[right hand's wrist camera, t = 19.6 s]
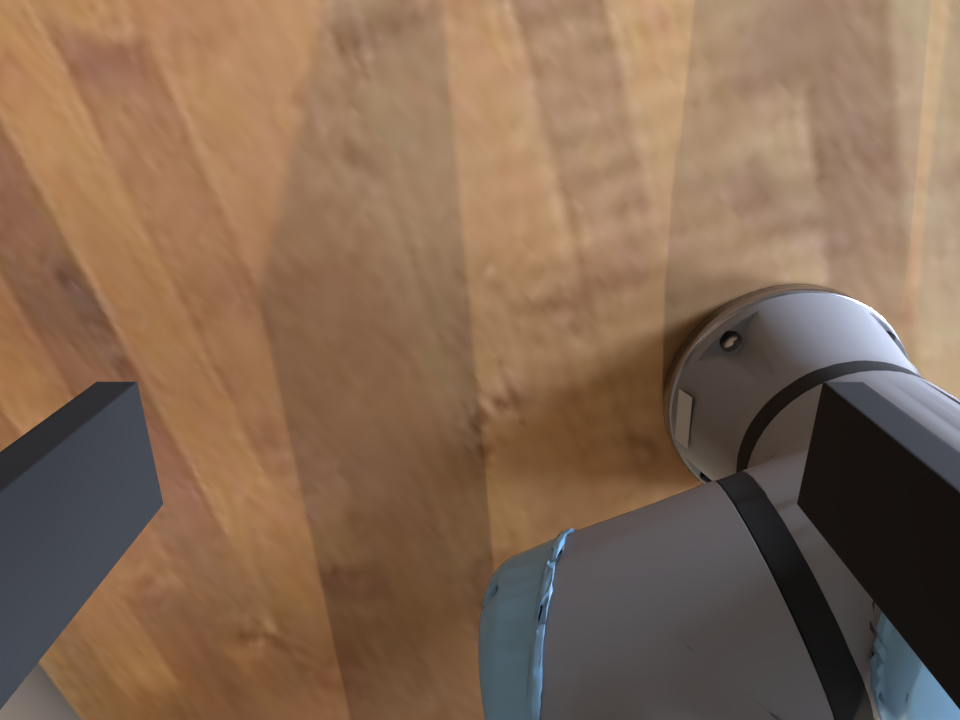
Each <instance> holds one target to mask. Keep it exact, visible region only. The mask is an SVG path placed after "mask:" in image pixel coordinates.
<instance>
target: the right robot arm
mask: <svg viewBox="0 0 960 720" xmlns="http://www.w3.org/2000/svg"><path fill="white" fill-rule="evenodd" d="M663 412H664V419H665V425H666V428H667V432H668V434H669V437H670V439H671V441H672V443H673V445H674V447H675V449H676V450H677V452H678V454H679V456H680V458H681V459H682V461H683V463H684V464H685V465H686V467H687V468H688V470H689V471H690V472H691V473H692V474H693V475H694V476H695V477H696V478H697V479H698V480H699V481H700V482H701V483H703V485H700V486H698V487H695V488H693V489H690V490H687V491H685V492H682V493H679V494H677V495H674V496H671V497H669V498H666V499H663V500H661V501H658V502H656V503H653V504H650V505H648V506H645V507H642V508H639V509H636V510H634V511H631V512H628V513H625V514H622V515H619V516H617V517H614V518H611V519H608V520H605V521H603V522H600V523H597V524H594V525H591V526H589V527H586V528H583V529H580V530H577V531H576V530H574V529H572V528H570V529H567V530H564V531H562V532H561V533H560V534H559V535H558V536H557V538H555V539H553V540H550V541H548V542H546V543H543V544H541V545H539V546H536V547H534V548H532V549H530V550H527V551H525V552H523V553H520V554H518V555H516V556H513V557H511V558H510V559H508V560H506V561H505V562H504V563H503V564H502V565H500V567H499V568H498V569H497V570H496V571H495V573H494V575H493V576H492V578H491V579H490V581H489V584H488V586H487V589H486V592H485V595H484V600H483V605H482V613H481V615H480V624H479V672H480V685H481V695H482V703H483V710H484V716H485V720H960V400H959V399H957V398H955V397H954V396H952V395H950V394H949V393H947V392H946V391H944V390H942V389H941V388H939V387H937V386H936V385H934V384H932V383H930V382H929V381H927V380H925V379H924V378H922V377H921V376H920V374H919V372H918V371H917V369H916V368H915V367H914V365H913V364H911V363H910V362H909V359H908V356H907V354H906V351H905V349H904V347H903V345H902V343H901V342H900V340H899V338H898V336H897V334H896V333H895V331H894V330H893V329H892V327H891V326H890V325H889V324H888V323H887V322H886V320H885V319H884V318H882V317H881V316H880V315H879V314H878V313H877V312H875V311H874V310H872V309H871V308H869V307H868V306H866V305H864V304H862V303H860V302H859V301H857V300H855V299H853V298H851V297H849V296H847V295H845V294H843V293H841V292H838V291H835V290H833V289H830V288H826V287H822V286H816V285H809V284H785V285H778V286H772V287H768V288H763V289H760V290H757V291H754V292H751V293H748V294H746V295H743V296H741V297H739V298H737V299H735V300H733V301H731V302H729V303H727V304H726V305H724V306H723V307H721V308H720V309H718V310H717V311H715V312H714V313H713V314H711V315H710V316H709V317H707V318H706V319H705V320H704V321H703V322H702V323H701V324H700V325H699V326H698V327H697V328H696V329H695V330H694V331H693V332H692V333H691V334H690V336H689V337H688V338H687V340H686V341H685V342H684V344H683V345H682V347H681V348H680V350H679V352H678V353H677V355H676V357H675V359H674V361H673V363H672V365H671V368H670V370H669V373H668V376H667V380H666V384H665V389H664V398H663ZM162 505H163V501H162V496H161V491H160V487H159V482H158V477H157V473H156V468H155V463H154V459H153V454H152V449H151V445H150V440H149V435H148V431H147V426H146V421H145V417H144V412H143V407H142V403H141V398H140V393H139V389H138V384H137V382H96V383H95V384H93V385H92V386H91V387H89V388H88V389H86V390H85V391H84V392H82V393H81V394H80V395H78V396H77V397H75V398H74V399H73V400H71V401H70V402H69V403H67V404H66V405H64V406H63V407H62V408H60V409H59V410H58V411H56V412H55V413H53V414H52V415H51V416H49V417H48V418H47V419H45V420H44V421H42V422H41V423H40V424H38V425H37V426H36V427H34V428H33V429H31V430H30V431H29V432H27V433H26V434H25V435H23V436H22V437H20V438H19V439H18V440H16V441H15V442H14V443H12V444H11V445H9V446H8V447H7V448H5V449H4V450H3V451H1V452H0V709H1V708H2V707H3V706H4V704H5V703H6V702H7V701H8V699H9V698H10V697H11V696H12V694H13V693H14V692H15V691H16V689H17V688H18V687H19V685H20V684H21V683H22V682H23V680H24V679H25V678H26V677H27V675H28V674H29V673H30V672H31V670H32V669H33V668H34V666H35V665H36V664H37V663H38V661H39V660H40V659H41V658H42V656H43V655H44V654H45V653H46V651H47V650H48V649H49V648H50V646H51V645H52V644H53V642H54V641H55V640H56V639H57V637H58V636H59V635H60V634H61V632H62V631H63V630H64V629H65V627H66V626H67V625H68V624H69V622H70V621H71V620H72V618H73V617H74V616H75V615H76V613H77V612H78V611H79V610H80V608H81V607H82V606H83V605H84V603H85V602H86V601H87V599H88V598H89V597H90V596H91V594H92V593H93V592H94V591H95V589H96V588H97V587H98V586H99V584H100V583H101V582H102V581H103V579H104V578H105V577H106V575H107V574H108V573H109V572H110V570H111V569H112V568H113V567H114V565H115V564H116V563H117V562H118V560H119V559H120V558H121V557H122V555H123V554H124V553H125V551H126V550H127V549H128V548H129V546H130V545H131V544H132V543H133V541H134V540H135V539H136V538H137V536H138V535H139V534H140V532H141V531H142V530H143V529H144V527H145V526H146V525H147V524H148V522H149V521H150V520H151V519H152V517H153V516H154V515H155V514H156V512H157V511H158V510H159V508H160V507H161V506H162Z"/></svg>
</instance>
